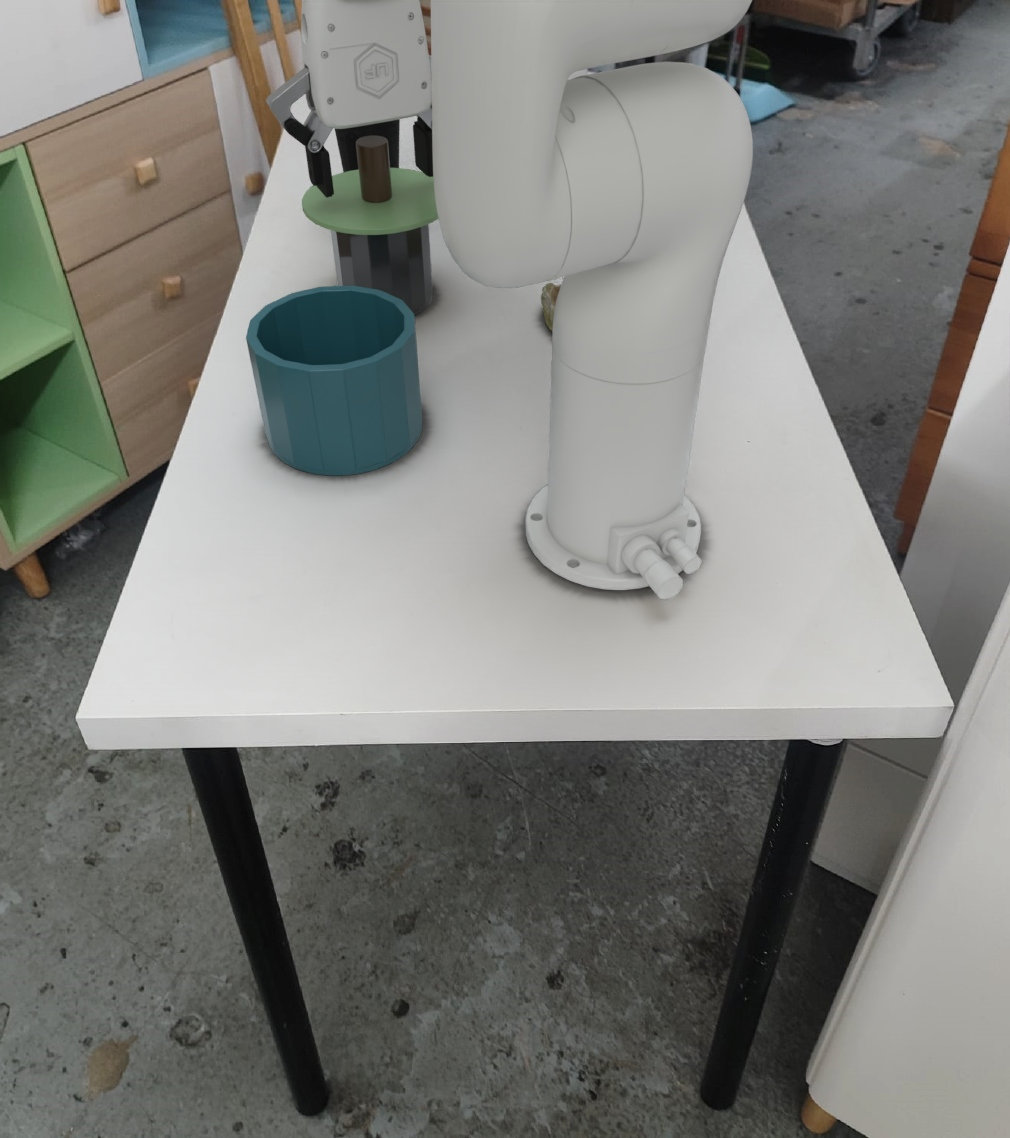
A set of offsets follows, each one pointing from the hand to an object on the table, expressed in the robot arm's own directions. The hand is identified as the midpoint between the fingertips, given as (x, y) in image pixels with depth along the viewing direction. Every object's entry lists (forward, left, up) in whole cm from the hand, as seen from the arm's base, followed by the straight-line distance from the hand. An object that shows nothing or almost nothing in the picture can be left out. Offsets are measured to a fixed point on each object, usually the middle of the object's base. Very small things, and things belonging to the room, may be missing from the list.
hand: (376, 181), depth 92 cm
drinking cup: (+16, -5, -12) cm, 21 cm away
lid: (0, 0, -2) cm, 2 cm away
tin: (-19, +11, -12) cm, 25 cm away
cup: (0, 0, -12) cm, 12 cm away
